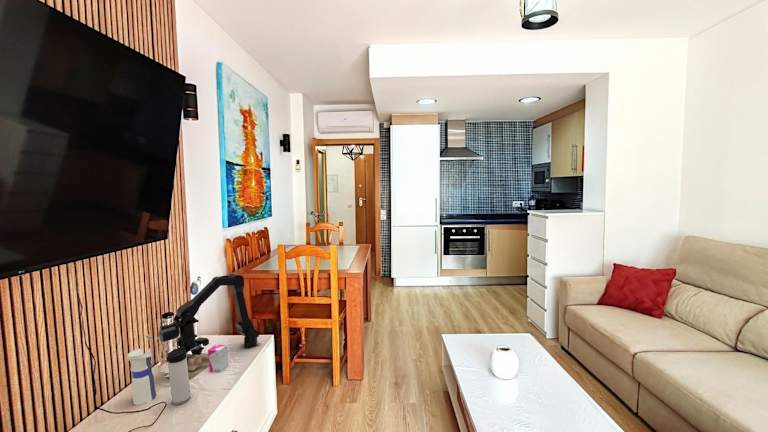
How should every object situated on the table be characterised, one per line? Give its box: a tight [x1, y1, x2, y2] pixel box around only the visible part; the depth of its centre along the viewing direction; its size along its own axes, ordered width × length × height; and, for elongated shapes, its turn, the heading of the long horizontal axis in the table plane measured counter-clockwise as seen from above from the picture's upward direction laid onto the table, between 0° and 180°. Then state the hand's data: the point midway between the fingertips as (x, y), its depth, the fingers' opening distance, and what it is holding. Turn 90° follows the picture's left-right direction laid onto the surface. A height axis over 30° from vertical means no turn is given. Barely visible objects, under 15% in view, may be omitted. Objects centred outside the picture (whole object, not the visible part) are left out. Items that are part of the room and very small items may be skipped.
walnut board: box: [188, 352, 209, 381], centre depth 159 cm, size 22×14×2 cm, turn 165°
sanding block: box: [186, 353, 202, 371], centre depth 156 cm, size 5×8×5 cm, turn 75°
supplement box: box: [207, 344, 229, 373], centre depth 155 cm, size 6×6×12 cm
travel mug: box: [166, 347, 192, 406], centre depth 135 cm, size 6×7×20 cm
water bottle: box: [125, 333, 158, 406], centre depth 137 cm, size 8×9×25 cm
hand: (190, 367), depth 156 cm, fingers closed on sanding block, 5 cm apart
